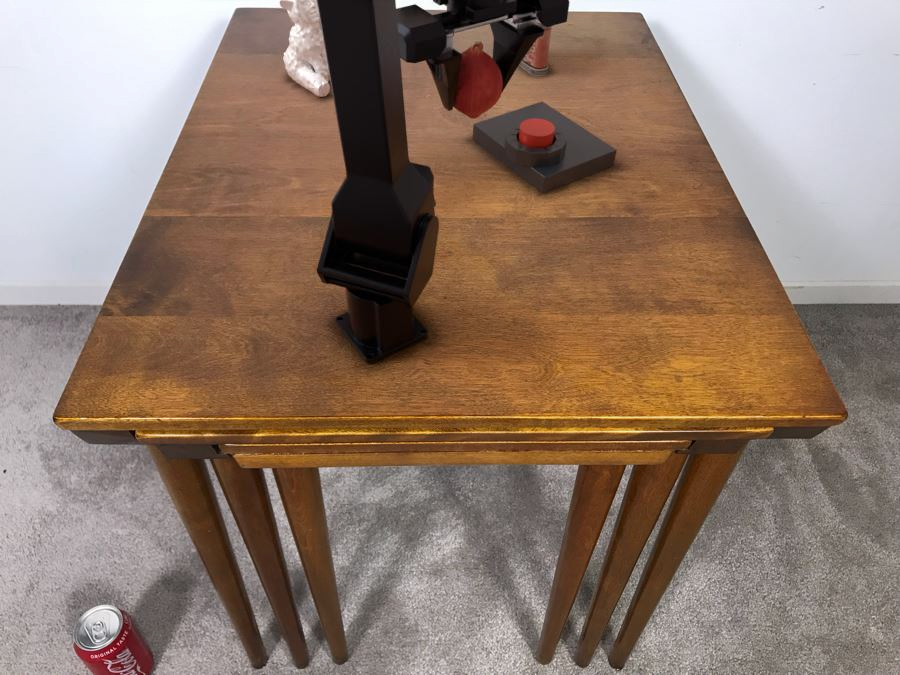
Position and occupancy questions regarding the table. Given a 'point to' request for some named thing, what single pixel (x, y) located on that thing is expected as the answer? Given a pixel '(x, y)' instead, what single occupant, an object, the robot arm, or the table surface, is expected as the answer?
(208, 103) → the table surface
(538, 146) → the button
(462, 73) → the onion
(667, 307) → the table surface
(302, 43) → the seated beast figurine
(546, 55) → the lighter
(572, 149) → the console
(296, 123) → the table surface
